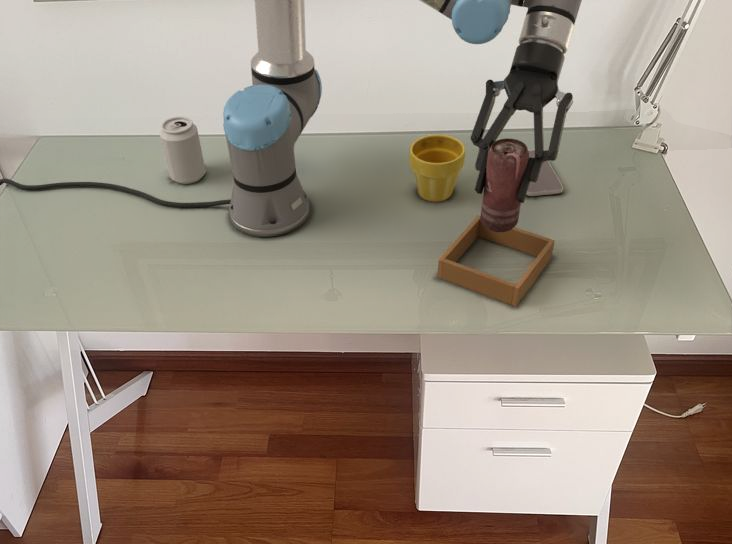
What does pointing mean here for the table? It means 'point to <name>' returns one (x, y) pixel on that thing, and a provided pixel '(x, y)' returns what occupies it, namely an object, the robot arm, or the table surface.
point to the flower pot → (436, 165)
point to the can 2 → (503, 184)
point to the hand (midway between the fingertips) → (499, 196)
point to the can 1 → (182, 150)
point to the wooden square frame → (487, 282)
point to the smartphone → (544, 180)
